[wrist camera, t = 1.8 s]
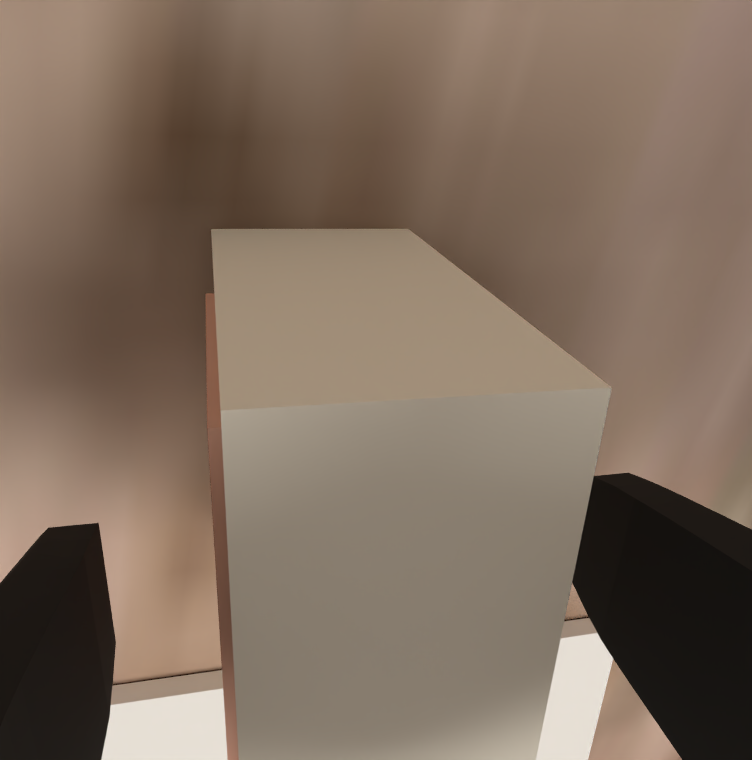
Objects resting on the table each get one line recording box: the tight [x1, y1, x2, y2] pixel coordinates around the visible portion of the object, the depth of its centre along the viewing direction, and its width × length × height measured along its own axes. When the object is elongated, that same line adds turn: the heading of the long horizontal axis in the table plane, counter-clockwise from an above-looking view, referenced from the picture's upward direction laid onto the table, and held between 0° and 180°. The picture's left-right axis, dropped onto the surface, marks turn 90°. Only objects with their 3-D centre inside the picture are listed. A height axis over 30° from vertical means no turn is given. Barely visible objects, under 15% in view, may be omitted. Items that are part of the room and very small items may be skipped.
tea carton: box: [206, 229, 612, 760], centre depth 12 cm, size 4×7×8 cm, turn 177°
